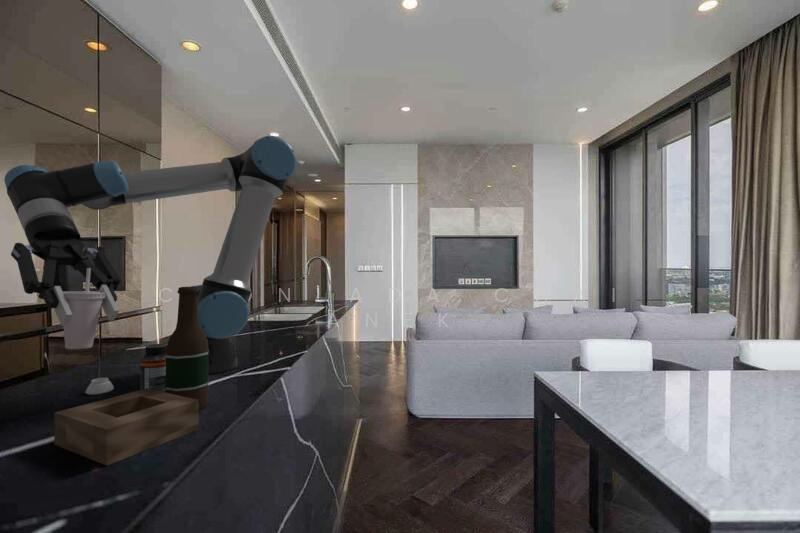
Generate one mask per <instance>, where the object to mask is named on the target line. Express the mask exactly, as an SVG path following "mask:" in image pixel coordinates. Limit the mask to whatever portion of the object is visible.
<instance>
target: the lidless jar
mask: <svg viewBox="0 0 800 533" xmlns="http://www.w3.org/2000/svg"><path fill="white" fill-rule="evenodd" d="M113 390H114V385H113V383H112V381H110V380H109V378H108V377H98V378H95V379H94V378H93V379H92V380H91V381H90V383H89V384H88V386H87V388H86V390H85V392H84V393H85V394H87V395H92V396H93V395H94V396H95V395H101V394H102V395H104V394H107V393H109V392H111V391H113Z"/></svg>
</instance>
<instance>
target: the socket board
mask: <svg viewBox="0 0 800 533" xmlns="http://www.w3.org/2000/svg"><path fill="white" fill-rule="evenodd" d="M53 412H54V411H53ZM199 414H200V410H199V400H197V399H192V398H188V397H183V396H178V395H174V394H169V393H165V392H160V391H156V390H151V389H143V390H140V389H139V390H136V391H135V390H134V391H131V392H128V393H127V392H126V393H124V394H120V395H117V396H113V397H110V398H109V397H108V398H104V399H101V400H98V401H97V400H96V401H94V402H90V403H85V404H83V405H82V404H81V405H77V406H73V407H70V408H66V409H63V410H60V411H55V412H54V415H53V416H54V417H53V419H54V420H53V421H54V429H53V430H54V433H53V434H54V436H53V437H54V438H53V439H54V443H53V444H54V446H57V447H60V448H62V449H65V450H66V451H69V452H72V453H74V454H76V455H79V456H81V457H85V458H86V459H88V460H91V461H94V462H97V463H99V464H101V465H104V466H110V465H113V464H115V463H117V462H119V461H123V460H125V459H127V458H129V457H132V456H135V455H138V454H139V453H142V452H145V451H148V450H150V449H152V448H153V449H154V448H155V447H157V446H160V445H163V444H165V443H168V442H170V441H173V440H175V439H177V438H178V439H179V438H180V437H183V436H185V435H188V434H191V433H193V432H195V431H199V429H200V428H199V427H200V422H199V421H200V415H199Z"/></svg>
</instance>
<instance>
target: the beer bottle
mask: <svg viewBox="0 0 800 533" xmlns="http://www.w3.org/2000/svg"><path fill="white" fill-rule="evenodd" d="M197 292H198V289H197V287H190V286H181V287H178V290H177V292H176V293H178V309H177V320H176V326H175V329H174V331H173V332H172V334H171V335H170V337H169V339H168V342H167V343H166V344H167V348H166V393H169V394H174V395H178V396H183V397H188V398H192V399H197V400H199V411H201V410H203V409H207V406H208V402H209V374H208V340H207V337H206V335H205V333H204V332H203V330H202V329H201V328H200V326H199V321H198V309H197Z"/></svg>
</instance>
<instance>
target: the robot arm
mask: <svg viewBox="0 0 800 533" xmlns="http://www.w3.org/2000/svg"><path fill="white" fill-rule="evenodd" d="M294 151H295V150H294V149H293V147H292V146H291V145H290V144H289V143H288V142H287V141H286V140H285V139H283V138H281V137H279V136H274V135H266V136H263V137H261V138H258V139H256V140H255V141H254V142H253V144H252V145H251V146H250V147H249V148H247V149H246V150H245V151H244V152H242V153H240V154H237V155H234V156H228V157H223V158H222V159H221V160H220V161H219V162H218V161H217V162H208V163H201V164H199V163H198V164H189V165H181V166H171V167H163V168H155V169H146V170H136V171H135V170H134V171H129V172H128V171H127V172H123V171H122V169H121V167H120V165H119V163H117V162H116V161H114V160H104V161H95V162H93V163H87V164H84V165H79V166H78V165H77V166H73V167H70V168H69V167H68V168H64V169H60V170H51V171H48V170H46V169H45V168H43V167H41V166H39V165H29V164H22V165H17V166H15V167H12V168H11V169H9V170H8V171H7V173H6V174H5V176H4V184H5V188H6V194H7V196H8V198H9V200H10V202H11V205H12V206H13V209H14V211H15V213H16V215H17V218H18V221H19V223H20V225H21V227H22V230H23V232H24V234H25V237H26V240H27V241H28V244H27V245H25V244H24V243H22V242H16V243H14V246H13V248H12V250H11V252H10V255H11V257H12V258H13V259H14V260H15V261H16V263H17V266H18V271H19V274H20V279H21V283H22V287H23V290H24V292H25V294H29V295H31V294H34V293H36V294H38V298H39V299H41V300H43V301H44V303H45V306H46V307H47V308H48V309H54V311H55V314H56V316H57V320H58V322H59V323H60V325H61V326H62V327H64V326H65V325H67V324H68V322H69V320H70V319H71V317H72V315H73V314H72V312H71V310H70V308H69V305H68V303H67V301H66V299H65V296H64V294H63V292H64V291H63V289H62V287H61V285H54V283H55V277H56V271H57V270H56V268H57V266H70V267H72V269H73V270H74V271H78V272H79V273H80V274H81V275H83V276H84V278H85V279H86V273H87V268H91V272H90V284H91V285H93V286H94V287H95V289H97V290H98V291H97V292H104V293H105V298H103V300H102V305H101V308H102V309H103V312H104V313H105V315H106V317H107V320H108V321H109V322H111V321H115V319H116V317H117V315H118V314H119V313H120V309H119V306H118V304H117V303H116V301H117V300H118V296H117V293H116V290H117V288H118V287H119V285H120V283H121V282H122V278H120V275H119V274H118V273H117V271H116V269H115V268H114V267H113V265H112V263H111V262H110V260H109V258H107V255H106V251H105V250H106V249H105V248H104V247H103V246H97V247H96V248H92V247H88V245H86V243H84V242H83V241H82V237H81V235H80V232H79V230H78V228H77V225H76V224H75V222H74V219H73V217H72V216H71V214H70V212H69V209H68V208H70V207H76V206H79V205H83V206H84V207H86V208H88V209H91V210H94V211H95V210H97V211H98V210H99V211H100V210H104V209H108V208H110V207H112V206H113V207H115V206H121V205H124V204H125V205H126V204H132V203H139V202H145V201H154V200H159V199H160V200H161V199H166V198H174V197H179V196H180V197H181V196H187V195H194V194H200V193H201V194H202V193H206V192H207V193H208V192H215V191H221V190H223V191H224V190H228V191H229V192H232V193H233V192H240V194H239V196H238V199H237V203H236V206H235V208H234V212H233V214H232V217H231V220H230V223H229V226H228V228H227V232H226V235H225V237H224V239H223V243H222V245H221V249H220V252H219V255H218V258H217V260H216V264H215V266H214V269H213V272H212V273H211V274H210V275H208V276H206V277H205V278H204V277H203V281H202V284H197V285H190V286H189V287H197V289H198V292H197V309H198V321H199V326H200V328H201V329H202V330H203V332H204V333H205V335H206V337H207V340H208V375H211V374H217V373H218V374H219V373H223V372H227V371H230V370H233V369H235V368H237V366H238V357H237V355H236V351H235V348H234V345H233V342H232V340H231V339H232V338H231V337H234V336H236V335H237V334H238V333H240V332H241V331H242V330H243V329H244V327H245V326H246V325H247V323H248V319H249V316H250V310H249V305H248V303H249V302H250V301H249V300H250V297H251V294H252V290H251V287H250V284H249V281H250V276H251V274H252V271H253V267H254V264H255V261H256V258H257V255H258V252H259V249H260V246H261V243H262V241H263V237H264V233H265V231H266V228H267V224H268V220H269V219H270V215H271V213H272V209H273V206H274V204H275V203H274V202H275V199H277V198H280V197H282V196H283V194H284V190H285V188H286V185H287V182H288V179H289V178H290V177H292V175H293V174H294V173H295V171H296V169H297V164H298V159H297V155H296V152H294ZM32 254H33V255H35V256H36V257H38V258H39V259H41V260H43V265H42V266H43V267H42V268H43V271H42V277H41V281H39V279H38V278H39V277H38V274H37V271H36V267H35V264H34V260H33V255H32ZM92 261H93V263H92Z"/></svg>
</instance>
